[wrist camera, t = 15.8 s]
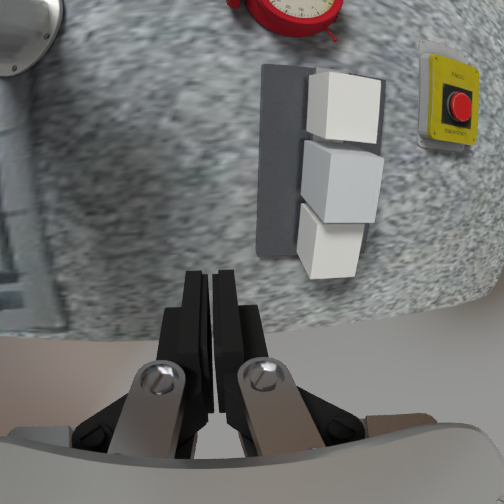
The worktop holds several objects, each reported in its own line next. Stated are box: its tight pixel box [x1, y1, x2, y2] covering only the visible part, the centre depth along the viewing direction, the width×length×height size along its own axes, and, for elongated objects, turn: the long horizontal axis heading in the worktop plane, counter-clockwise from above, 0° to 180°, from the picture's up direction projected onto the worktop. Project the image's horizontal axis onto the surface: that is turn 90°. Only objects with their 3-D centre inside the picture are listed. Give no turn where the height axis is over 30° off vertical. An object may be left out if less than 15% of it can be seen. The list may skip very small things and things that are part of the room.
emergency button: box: [417, 39, 479, 152], centre depth 30 cm, size 9×4×15 cm
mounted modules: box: [297, 72, 381, 279], centre depth 30 cm, size 20×5×6 cm, turn 179°
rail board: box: [256, 64, 386, 256], centre depth 33 cm, size 22×14×2 cm, turn 179°
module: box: [301, 140, 384, 223], centre depth 29 cm, size 6×5×8 cm
